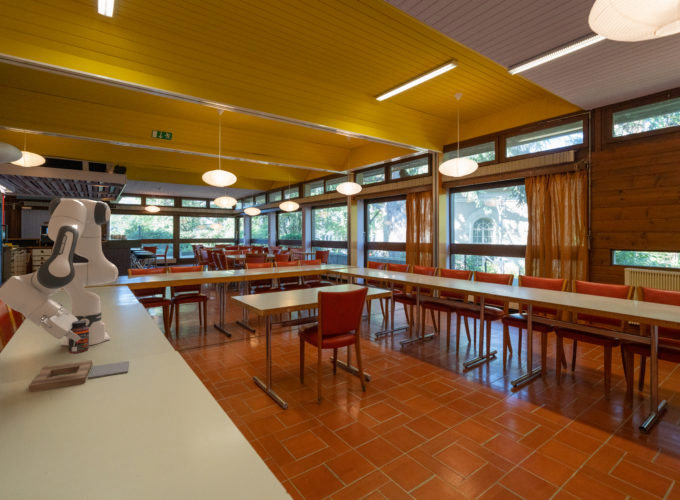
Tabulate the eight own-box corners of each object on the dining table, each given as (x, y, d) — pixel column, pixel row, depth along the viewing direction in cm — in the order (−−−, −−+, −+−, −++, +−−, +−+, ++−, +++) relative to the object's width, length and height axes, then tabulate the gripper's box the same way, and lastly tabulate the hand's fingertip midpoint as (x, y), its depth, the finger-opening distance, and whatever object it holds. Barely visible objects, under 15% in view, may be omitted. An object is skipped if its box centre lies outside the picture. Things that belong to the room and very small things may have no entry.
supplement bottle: (77, 355, 119) (77, 324, 118) (64, 353, 120) (64, 322, 120) (92, 349, 124) (93, 320, 124) (80, 348, 126) (80, 319, 125)
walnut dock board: (43, 371, 124) (43, 366, 124) (92, 365, 132) (92, 360, 132) (28, 391, 108) (28, 385, 108) (84, 382, 116) (84, 377, 116)
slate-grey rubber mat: (93, 367, 129) (93, 366, 129) (129, 362, 135) (129, 360, 135) (88, 378, 119) (88, 377, 119) (127, 372, 125) (127, 371, 125)
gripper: (47, 312, 109) (83, 337, 114) (61, 301, 127) (92, 324, 132) (29, 327, 107) (67, 352, 112) (45, 314, 125) (78, 336, 130)
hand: (81, 336), depth 122 cm, fingers closed on supplement bottle, 6 cm apart
